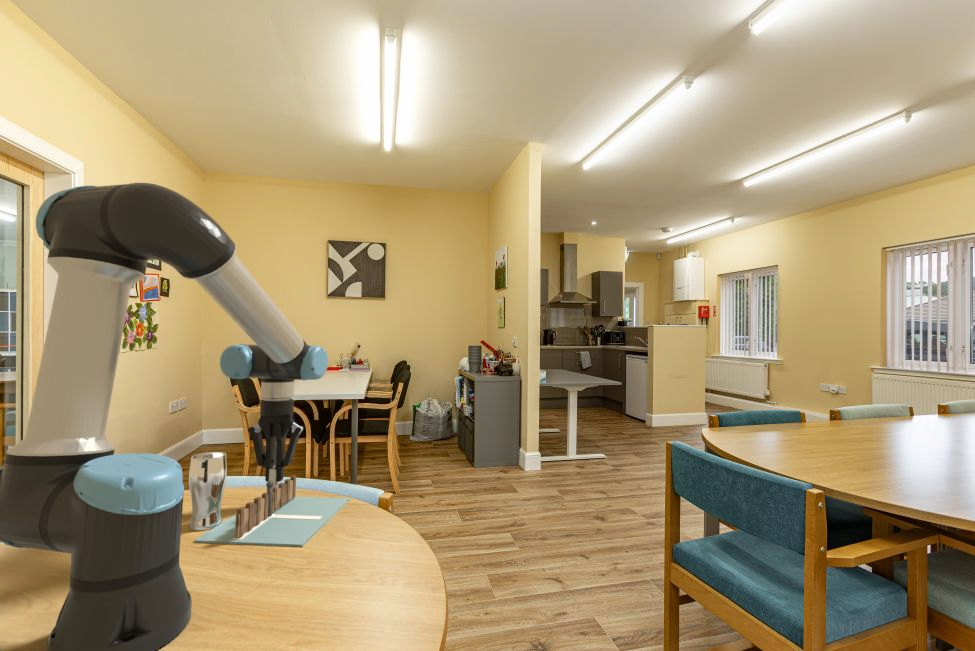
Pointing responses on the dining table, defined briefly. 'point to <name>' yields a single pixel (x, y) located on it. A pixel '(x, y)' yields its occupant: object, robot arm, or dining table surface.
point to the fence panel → (283, 493)
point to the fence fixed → (254, 512)
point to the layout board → (281, 524)
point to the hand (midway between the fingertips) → (273, 494)
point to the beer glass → (207, 489)
